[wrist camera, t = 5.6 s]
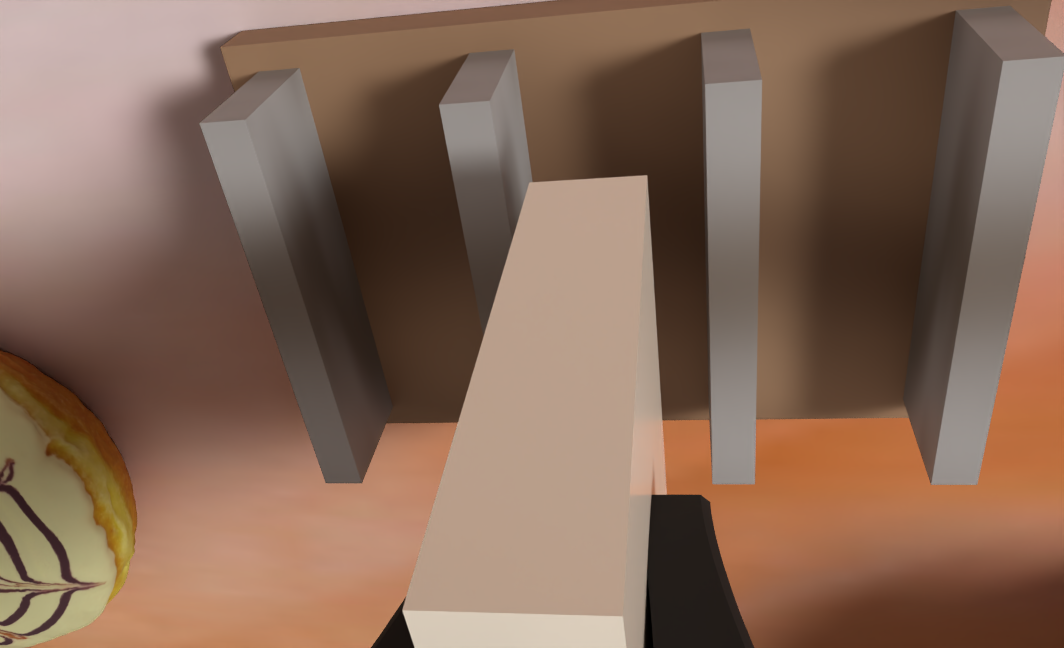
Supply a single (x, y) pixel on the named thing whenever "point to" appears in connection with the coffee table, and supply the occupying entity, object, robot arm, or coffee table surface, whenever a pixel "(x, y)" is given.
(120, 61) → the coffee table surface
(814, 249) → the dish rack
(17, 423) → the decorated donut
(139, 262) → the coffee table surface
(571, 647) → the upright cream panel
